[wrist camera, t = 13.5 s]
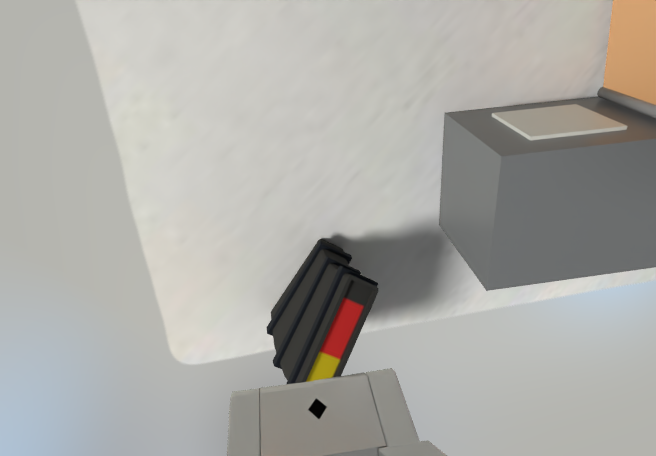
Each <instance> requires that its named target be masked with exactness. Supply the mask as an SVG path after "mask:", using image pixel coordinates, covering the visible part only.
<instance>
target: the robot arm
mask: <svg viewBox="0 0 656 456" xmlns="http://www.w3.org/2000/svg"><path fill="white" fill-rule="evenodd" d="M227 456H447V455H445V454H444V453H443V452H441V450H439V449H438V448H437V447H435V446H434V445H433V444H432V443H431V442H429V441H421V442H420V441H419V438H418V435H417V432H416V430H415V427H414V424H413V421H412V418H411V415H410V413H409V410H408V407H407V404H406V401H405V398H404V396H403V393H402V390H401V387H400V384H399V381H398V378H397V376H396V373H395V371H394V370H393V369H392V368H390V369H384V370H377V371H372V372H366V374H365V373H358V374H352V375H346V376H339V377H333V378H327V379H320V380H314V381H311V382H303V383H295V384H286V385H278V386H271V387H262V388H259V389H250V390H242V391H234V392H232V395H231V398H230V411H229V430H228V447H227Z"/></svg>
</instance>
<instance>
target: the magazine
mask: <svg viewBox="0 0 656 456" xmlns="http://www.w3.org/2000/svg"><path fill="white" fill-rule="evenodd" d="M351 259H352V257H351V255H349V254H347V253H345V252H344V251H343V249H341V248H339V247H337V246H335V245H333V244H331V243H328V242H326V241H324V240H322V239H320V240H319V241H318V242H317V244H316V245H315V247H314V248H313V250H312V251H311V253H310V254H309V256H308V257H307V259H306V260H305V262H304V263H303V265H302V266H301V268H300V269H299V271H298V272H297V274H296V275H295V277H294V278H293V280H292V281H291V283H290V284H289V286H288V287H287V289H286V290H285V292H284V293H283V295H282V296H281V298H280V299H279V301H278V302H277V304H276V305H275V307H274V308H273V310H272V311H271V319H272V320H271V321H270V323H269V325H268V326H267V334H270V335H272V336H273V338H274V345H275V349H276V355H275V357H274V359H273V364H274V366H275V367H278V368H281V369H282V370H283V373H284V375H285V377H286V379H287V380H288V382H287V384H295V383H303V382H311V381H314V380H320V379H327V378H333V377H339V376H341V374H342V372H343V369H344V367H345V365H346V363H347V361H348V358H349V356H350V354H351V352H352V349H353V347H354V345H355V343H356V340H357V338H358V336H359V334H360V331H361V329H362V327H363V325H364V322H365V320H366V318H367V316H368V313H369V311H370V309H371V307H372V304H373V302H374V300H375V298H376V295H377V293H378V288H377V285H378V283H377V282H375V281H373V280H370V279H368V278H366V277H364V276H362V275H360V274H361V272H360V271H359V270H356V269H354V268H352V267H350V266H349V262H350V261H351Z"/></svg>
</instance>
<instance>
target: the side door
mask: <svg viewBox="0 0 656 456" xmlns="http://www.w3.org/2000/svg"><path fill="white" fill-rule="evenodd" d="M598 97H600V98H603V99H606V100H608V101H611V102H613V103H616V104H619V105H621V106H624V107H627V108H629V109H632V110H635V111H637V112H640V113H643V114H645V115H648V116H651V117H653V118H656V0H613V6H612V15H611V24H610V32H609V41H608V50H607V58H606V67H605V76H604V84H603V87H602V88H600V89H599V90H598Z"/></svg>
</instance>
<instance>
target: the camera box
mask: <svg viewBox="0 0 656 456" xmlns="http://www.w3.org/2000/svg"><path fill="white" fill-rule="evenodd" d="M439 225H440V227H441V228H442V229H443V231H444V232H445V234H446V235H447V236H448V238H449V239H450V241H451V242H452V243H453V245H454V246H455V247H456V249H457V250H458V252H459V253H460V254H461V256H462V257H463V259H464V260H465V261H466V263H467V264H468V266H469V267H470V268H471V270H472V271H473V272H474V274H475V275H476V277H477V278H478V279H479V281H480V282H481V284H482V285H483V286H484V288H485V289H486V291H488V290H495V289H502V288H509V287H516V286H523V285H531V284H538V283H545V282H552V281H559V280H567V279H574V278H581V277H588V276H595V275H603V274H610V273H617V272H624V271H631V270H639V269H646V268H653V267H656V118H653V117H651V116H648V115H645V114H643V113H640V112H637V111H635V110H632V109H629V108H627V107H624V106H621V105H619V104H616V103H613V102H611V101H608V100H606V99H603V98H600V97H591V98H582V99H572V100H563V101H553V102H544V103H534V104H525V105H515V106H506V107H497V108H487V109H478V110H468V111H459V112H449V113H445V117H444V137H443V157H442V178H441V198H440V218H439Z"/></svg>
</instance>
